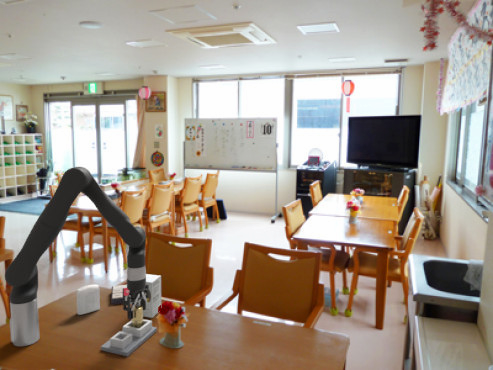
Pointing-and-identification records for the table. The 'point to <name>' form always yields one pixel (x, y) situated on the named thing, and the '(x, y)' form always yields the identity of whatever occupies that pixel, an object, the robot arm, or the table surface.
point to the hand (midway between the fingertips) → (136, 314)
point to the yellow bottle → (137, 316)
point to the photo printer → (88, 299)
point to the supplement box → (152, 295)
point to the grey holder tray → (129, 338)
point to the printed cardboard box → (119, 294)
